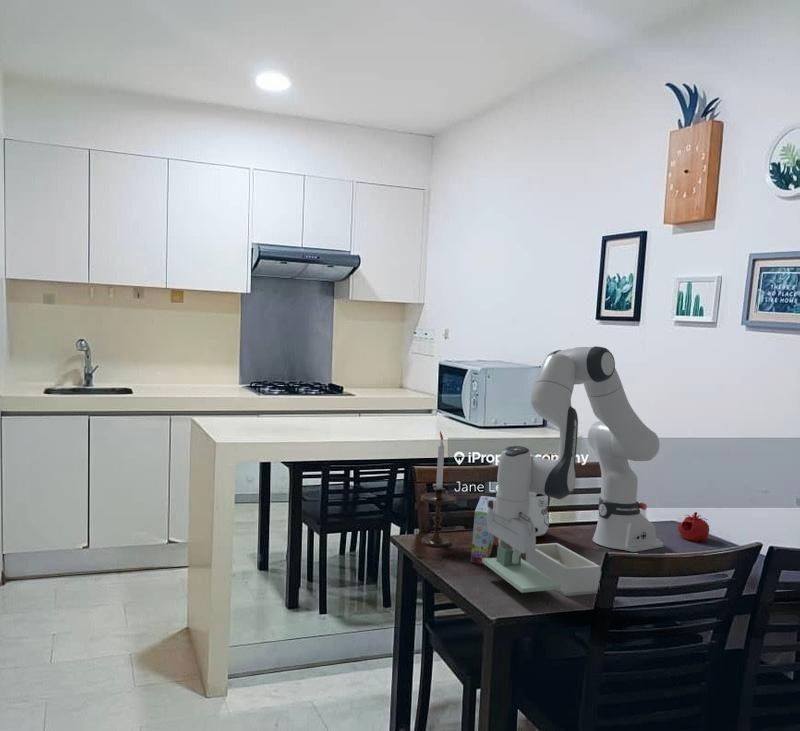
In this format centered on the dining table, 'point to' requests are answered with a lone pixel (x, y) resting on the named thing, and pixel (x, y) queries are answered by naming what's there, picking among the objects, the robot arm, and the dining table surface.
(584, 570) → the tub
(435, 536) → the candlestick
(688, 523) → the pomegranate
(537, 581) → the lid
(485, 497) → the snack box
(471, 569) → the dining table surface
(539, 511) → the spotted dog treat jar
